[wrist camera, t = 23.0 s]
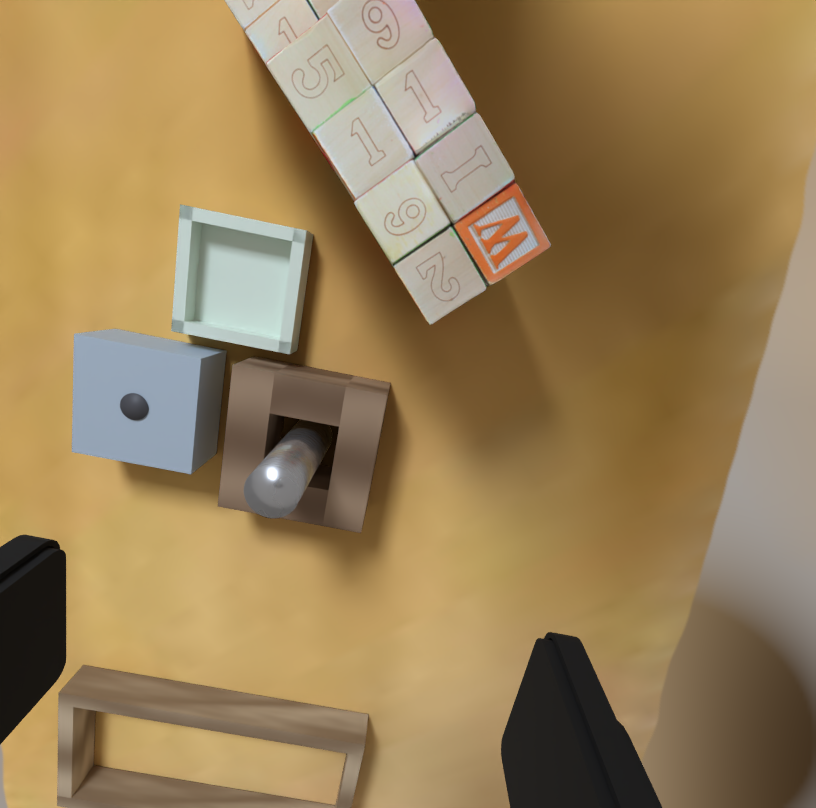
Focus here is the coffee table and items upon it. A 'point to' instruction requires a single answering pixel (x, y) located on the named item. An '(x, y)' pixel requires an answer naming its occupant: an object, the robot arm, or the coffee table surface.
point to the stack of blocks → (400, 140)
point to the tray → (240, 280)
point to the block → (146, 399)
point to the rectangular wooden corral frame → (200, 708)
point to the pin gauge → (287, 470)
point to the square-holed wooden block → (313, 401)
